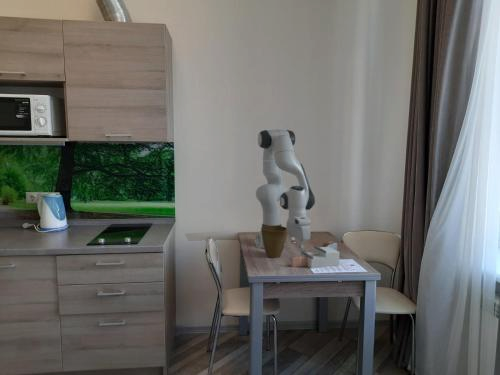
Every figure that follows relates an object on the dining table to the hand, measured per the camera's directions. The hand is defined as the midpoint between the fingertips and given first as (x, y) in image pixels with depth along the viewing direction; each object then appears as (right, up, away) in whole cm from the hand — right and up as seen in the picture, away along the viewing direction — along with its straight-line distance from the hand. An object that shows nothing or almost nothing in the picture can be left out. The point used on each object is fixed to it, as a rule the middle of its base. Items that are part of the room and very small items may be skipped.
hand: (297, 245), depth 170 cm
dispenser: (+12, -10, +6) cm, 17 cm away
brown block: (+3, -11, +3) cm, 11 cm away
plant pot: (-11, -9, +18) cm, 23 cm away
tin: (+21, -9, +19) cm, 30 cm away
